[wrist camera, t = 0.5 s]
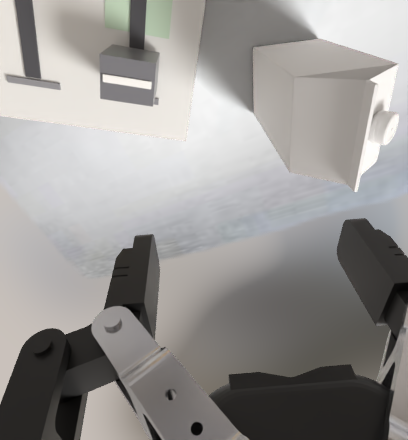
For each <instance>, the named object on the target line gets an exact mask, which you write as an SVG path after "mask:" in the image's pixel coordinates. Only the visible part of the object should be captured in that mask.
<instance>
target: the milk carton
mask: <svg viewBox="0 0 408 440" xmlns="http://www.w3.org/2000/svg"><path fill="white" fill-rule="evenodd" d="M397 70H398V64H397V63H394V62H391V61H388V60H385V59H382V58H379V57H376V56H373V55H370V54H367V53H363V52H360V51H357V50H354V49H351V48H348V47H345V46H342V45H338V44H335V43H332V42H329V41H326V40H323V39H312V40H305V41H297V42H289V43H282V44H274V45H266V46H258V47H253V103H254V115H255V117H256V118H257V120H258V122H259V123H260V125H261V126H262V128H263V130H264V131H265V133H266V135H267V136H268V138H269V139H270V141H271V143H272V144H273V146H274V148H275V149H276V151H277V152H278V154H279V156H280V157H281V159H282V161H283V162H284V164H285V165H286V167H287V169H288V170H289V172H291V173H295V174H300V175H304V176H309V177H314V178H318V179H323V180H327V181H332V182H337V183H341V184H346V185H348V186H349V187H350V188H351V189H352V190H353V191H354V192H357V191H358V186H359V181H360V176H361V175H362V174H363V173H364V172H365V171H366V170H368V169H369V168H370V167H371V166H372V165H373V164H374V163H375V162H376V161H377V158H378V154H379V149H380V145H387V144H388V143H389V142H390V141H391V140H392V138H393V136H394V134H395V132H396V129H397V126H398V121H399V115H398V113H396V112H388V110H389V105H390V101H391V97H392V92H393V88H394V83H395V79H396V75H397Z"/></svg>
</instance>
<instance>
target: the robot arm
mask: <svg viewBox="0 0 408 440" xmlns="http://www.w3.org/2000/svg"><path fill="white" fill-rule="evenodd" d="M337 256H338V260H339V262H340V264H341V266H342V267H343V269H344V271H345V272H346V274H347V276H348V278H349V280H350V281H351V283H352V285H353V287H354V288H355V290H356V292H357V294H358V295H359V297H360V299H361V301H362V302H363V304H364V306H365V308H366V309H367V311H368V313H369V314H370V316H371V318H372V320H373V321H374V323H375V325H376V326H379V325H388V326H389V327H390V329H391V331H390V333H389V335H388V339H387V343H386V347H385V351H384V355H383V360H382V364H381V368H380V372H379V375H378V378H377V381H374V380H372V379H369V378H366V377H363V376H360V375H356V374H355V373H354V371H353V369H352V367H351V365H338V366H326V367H320V368H317V369H314V370H311V371H309V372H306V373H303V374H301V375H298V376H296V377H284V376H278V375H272V374H266V373H261V372H255V373H243V374H231V375H229V384H227V385H225V386H222V387H220V388H219V389H217V390H215V391H214V392H213V393H211V394H210V395H209V396H208V395H207V394H206V392H205V391H204V390H203V389H202V388H201V386H200V385H199V384H198V383H197V382H196V381H195V379H194V378H193V377H192V376H191V375H190V374H189V372H188V371H187V370H186V369H185V368H184V366H183V365H182V364H181V363H180V362H179V361H178V359H177V358H176V357H175V356H174V355H173V353H172V352H171V351H170V350H169V349H167V348H166V347H164V348H161V347H160V346H159V345H158V344H157V342H156V341H155V329H156V316H157V303H158V290H159V277H160V267H159V259H158V254H157V249H156V244H155V238H154V235H153V234H150V235H137V236H135V238H134V244H133V248H127V249H123V250H122V251H121V253H120V254H119V255H118V256H117V258H116V261H115V265H114V270H113V274H112V279H111V282H110V286H109V291H108V295H107V299H106V303H105V307H104V310H103V311H102V312H100V313H99V314H98V315H97V316H96V317H95V319H94V321H93V323H92V324H90V325H89V326H87V327H85V328H82V329H79V330H77V331H74V332H71V333H68V334H66V335H65V334H64V333H63V332H62V331H61V330H58V329H53V328H52V329H45V330H42V331H40V332H38V333H36V334H34V335H33V336H32V337H30V338H29V339H28V340H27V341H26V342H25V344H24V345H23V347H22V349H21V351H20V353H19V356H18V359H17V361H16V364H15V367H14V369H13V372H12V375H11V377H10V380H9V383H8V385H7V388H6V391H5V393H4V396H3V399H2V401H1V404H0V440H80V437H81V431H82V425H83V419H84V413H85V407H86V401H87V396H88V392H89V391H92V390H94V389H96V388H99V387H101V386H104V385H106V384H108V383H111V382H113V381H114V382H115V383H116V385H117V386H118V388H119V389H120V391H121V393H122V394H123V396H124V398H125V399H126V401H127V402H128V404H129V405H130V407H131V408H132V410H133V412H134V413H135V415H136V416H137V418H138V420H139V421H140V423H141V425H142V427H143V429H144V431H145V433H146V434H147V436H148V438H149V439H150V440H408V258H407V256H406V255H404V252H403V251H402V250H401V249H400V248H398V245H397V244H396V243H395V242H394V241H393V239H392V238H391V237H390V236H388V235H387V234H385V233H383V232H382V231H381V230H375V229H374V228H373V227H372V225H371V224H370V223H369V221H368V220H367V219H365V218H364V219H350V220H345V222H344V224H343V227H342V231H341V235H340V239H339V243H338V246H337Z"/></svg>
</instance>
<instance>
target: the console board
mask: <svg viewBox="0 0 408 440" xmlns="http://www.w3.org/2000/svg"><path fill="white" fill-rule="evenodd" d="M205 3H206V0H0V116H4V117H12V118H19V119H26V120H34V121H41V122H48V123H56V124H63V125H70V126H78V127H85V128H92V129H100V130H107V131H114V132H122V133H129V134H136V135H144V136H151V137H158V138H166V139H173V140H180V141H186V138H187V131H188V124H189V117H190V110H191V103H192V96H193V88H194V81H195V74H196V67H197V60H198V53H199V46H200V39H201V31H202V24H203V17H204V10H205ZM112 44H114V45H119V46H125V47H131V48H136V49H142V50H148V51H153V52H159V53H160V57H159V70H158V83H157V92H156V96H155V100H154V104H153V107H152V106H145V105H138V104H132V103H125V102H118V101H112V100H105V99H100V56H99V54H100V53H101V52H103V51H104V50H105V49H107V48H108V47H109V46H111V45H112Z"/></svg>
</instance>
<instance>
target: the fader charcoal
mask: <svg viewBox="0 0 408 440" xmlns="http://www.w3.org/2000/svg"><path fill="white" fill-rule="evenodd" d="M99 56H100V99H105V100H112V101H118V102H125V103H132V104H138V105H145V106H152V107H153V104H154V100H155V96H156V92H157V83H158V70H159V57H160V53H159V52H153V51H148V50H142V49H136V48H131V47H125V46H119V45H114V44H112V45H111V46H109V47H108V48H107V49H105V50H104V51H103V52H101V53H100V54H99Z"/></svg>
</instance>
